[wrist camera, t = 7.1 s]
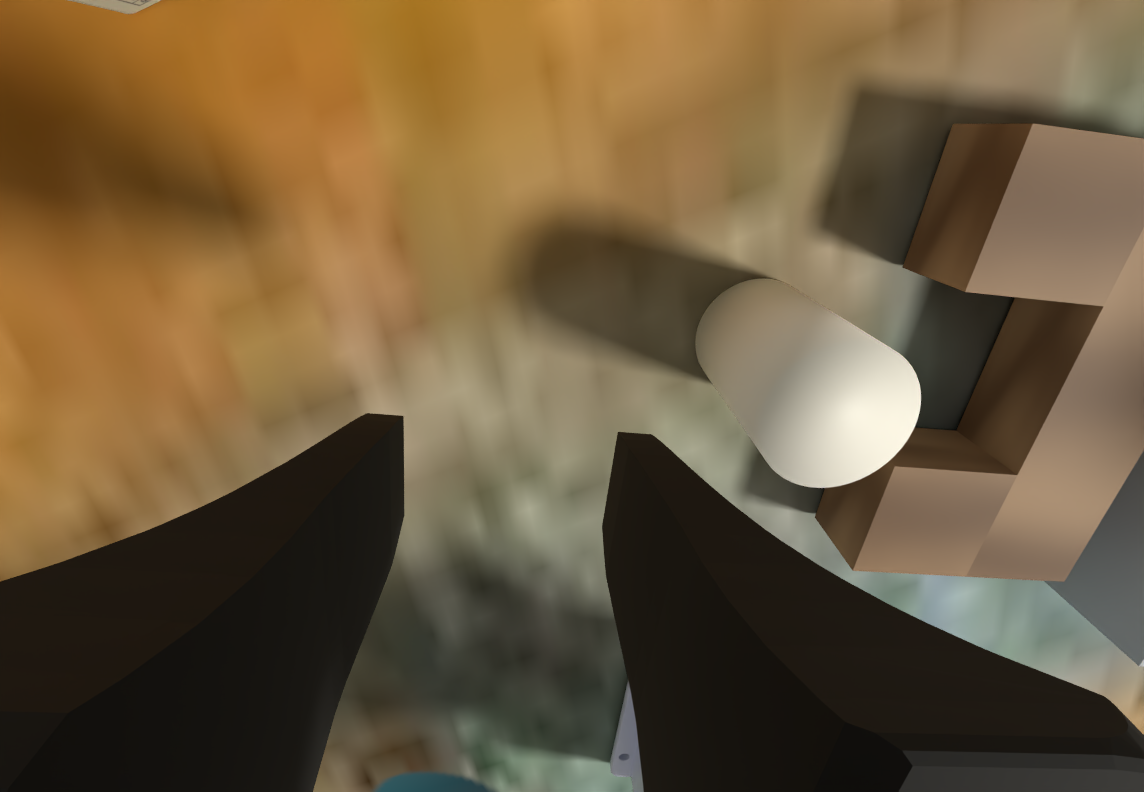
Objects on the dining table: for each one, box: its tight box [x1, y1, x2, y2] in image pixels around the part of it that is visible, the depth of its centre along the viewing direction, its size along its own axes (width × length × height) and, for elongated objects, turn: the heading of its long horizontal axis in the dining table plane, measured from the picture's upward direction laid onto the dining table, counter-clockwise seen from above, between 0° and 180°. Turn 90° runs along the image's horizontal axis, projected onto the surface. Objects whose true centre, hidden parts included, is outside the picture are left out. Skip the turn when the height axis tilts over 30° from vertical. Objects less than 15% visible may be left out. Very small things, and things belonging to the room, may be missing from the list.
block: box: [815, 123, 1144, 582], centre depth 19 cm, size 14×8×3 cm, turn 173°
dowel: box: [695, 278, 921, 488], centre depth 17 cm, size 4×4×6 cm
